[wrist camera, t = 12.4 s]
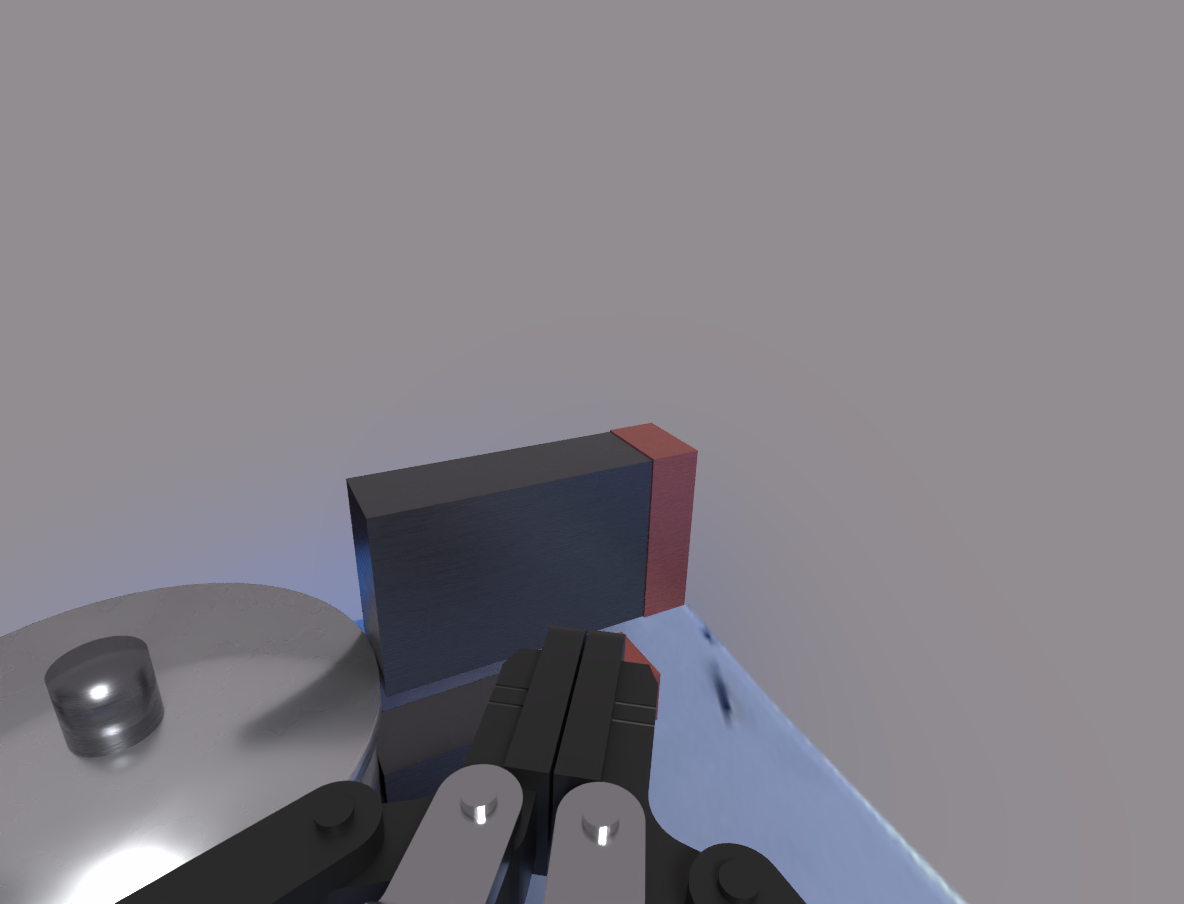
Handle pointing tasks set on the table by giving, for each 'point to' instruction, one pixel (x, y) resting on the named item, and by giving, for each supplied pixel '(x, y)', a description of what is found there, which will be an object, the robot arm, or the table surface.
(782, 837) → the table surface
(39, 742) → the lid
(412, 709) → the pot
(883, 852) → the table surface
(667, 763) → the table surface
